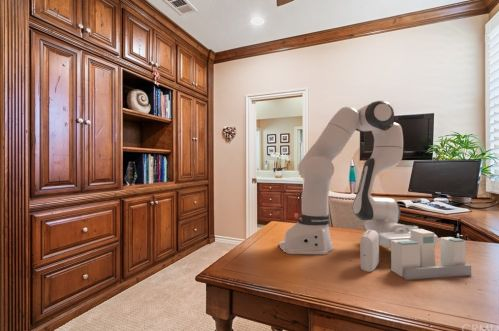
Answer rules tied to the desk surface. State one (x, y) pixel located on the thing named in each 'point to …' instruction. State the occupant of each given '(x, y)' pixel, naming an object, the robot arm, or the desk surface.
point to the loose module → (424, 246)
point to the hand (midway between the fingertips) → (424, 246)
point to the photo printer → (369, 250)
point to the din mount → (408, 266)
